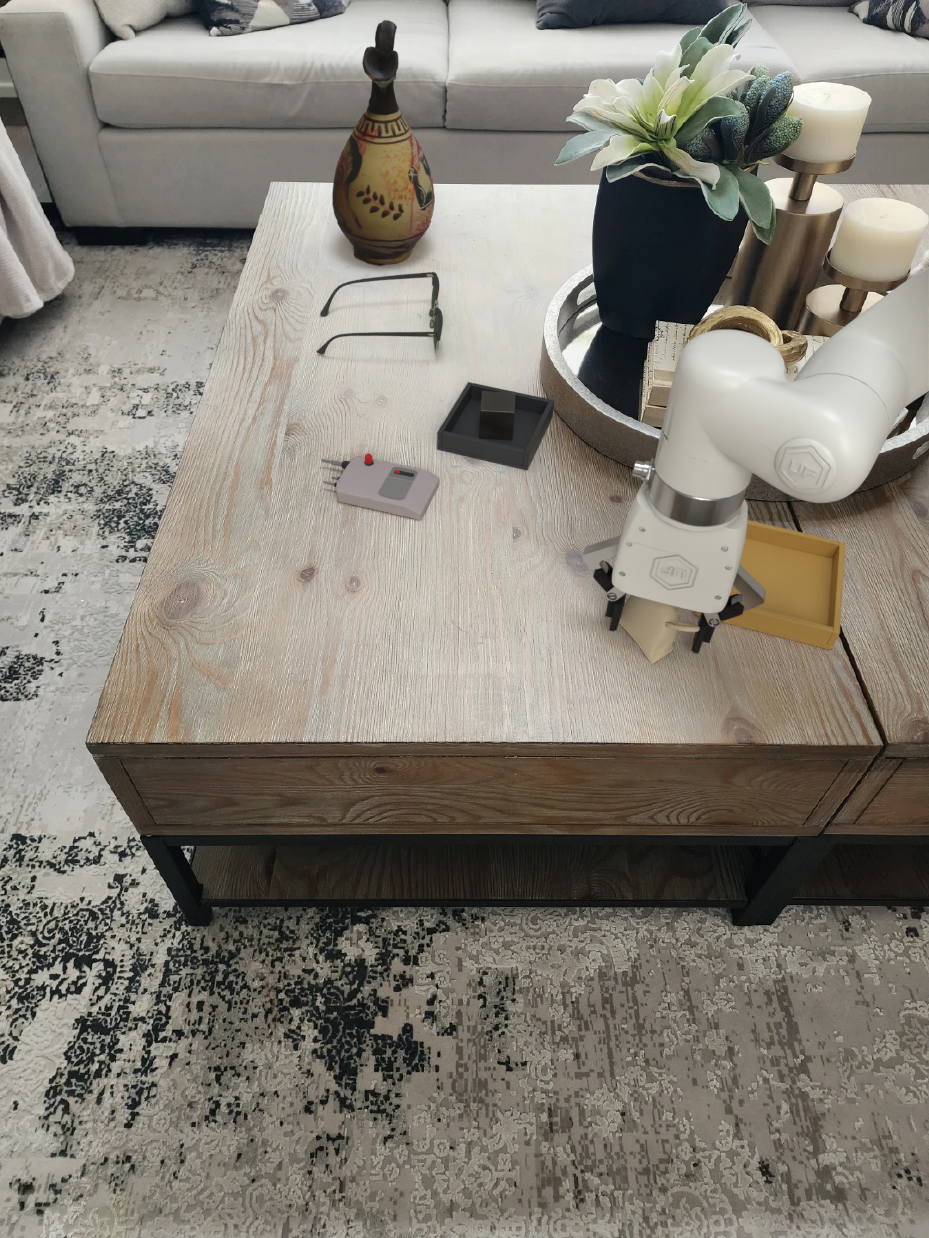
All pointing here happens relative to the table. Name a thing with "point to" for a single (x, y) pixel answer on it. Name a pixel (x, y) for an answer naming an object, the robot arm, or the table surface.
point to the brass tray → (793, 584)
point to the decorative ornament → (653, 625)
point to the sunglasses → (433, 324)
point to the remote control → (385, 486)
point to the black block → (497, 415)
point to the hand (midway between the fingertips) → (656, 630)
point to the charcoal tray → (519, 452)
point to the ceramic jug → (383, 169)
